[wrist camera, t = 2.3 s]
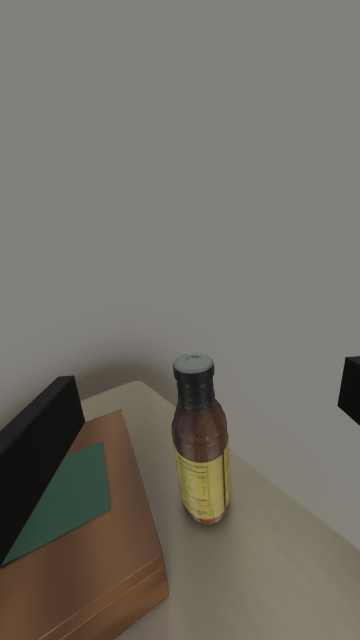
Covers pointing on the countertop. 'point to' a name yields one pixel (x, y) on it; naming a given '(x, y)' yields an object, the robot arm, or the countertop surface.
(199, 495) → the sauce bottle
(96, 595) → the brown wooden box
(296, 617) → the countertop surface
